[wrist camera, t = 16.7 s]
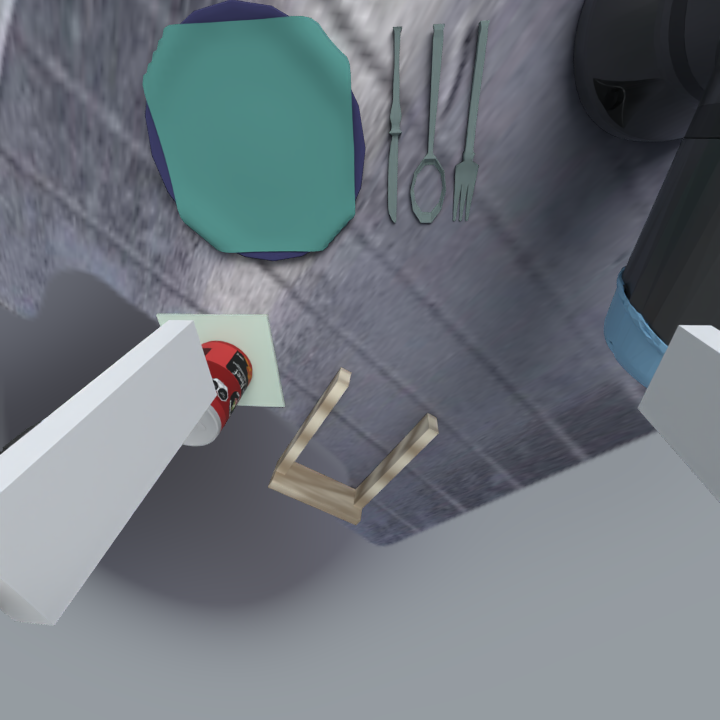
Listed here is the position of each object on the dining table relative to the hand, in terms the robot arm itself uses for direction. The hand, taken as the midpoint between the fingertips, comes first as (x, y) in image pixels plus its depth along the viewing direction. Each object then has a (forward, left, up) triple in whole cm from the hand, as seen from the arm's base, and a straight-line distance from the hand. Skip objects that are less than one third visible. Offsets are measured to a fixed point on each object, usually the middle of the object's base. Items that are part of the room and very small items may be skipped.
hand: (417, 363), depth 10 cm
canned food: (+23, +19, -28) cm, 41 cm away
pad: (+23, +19, -29) cm, 41 cm away
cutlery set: (+9, -5, -29) cm, 31 cm away
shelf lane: (+7, +32, -29) cm, 43 cm away
